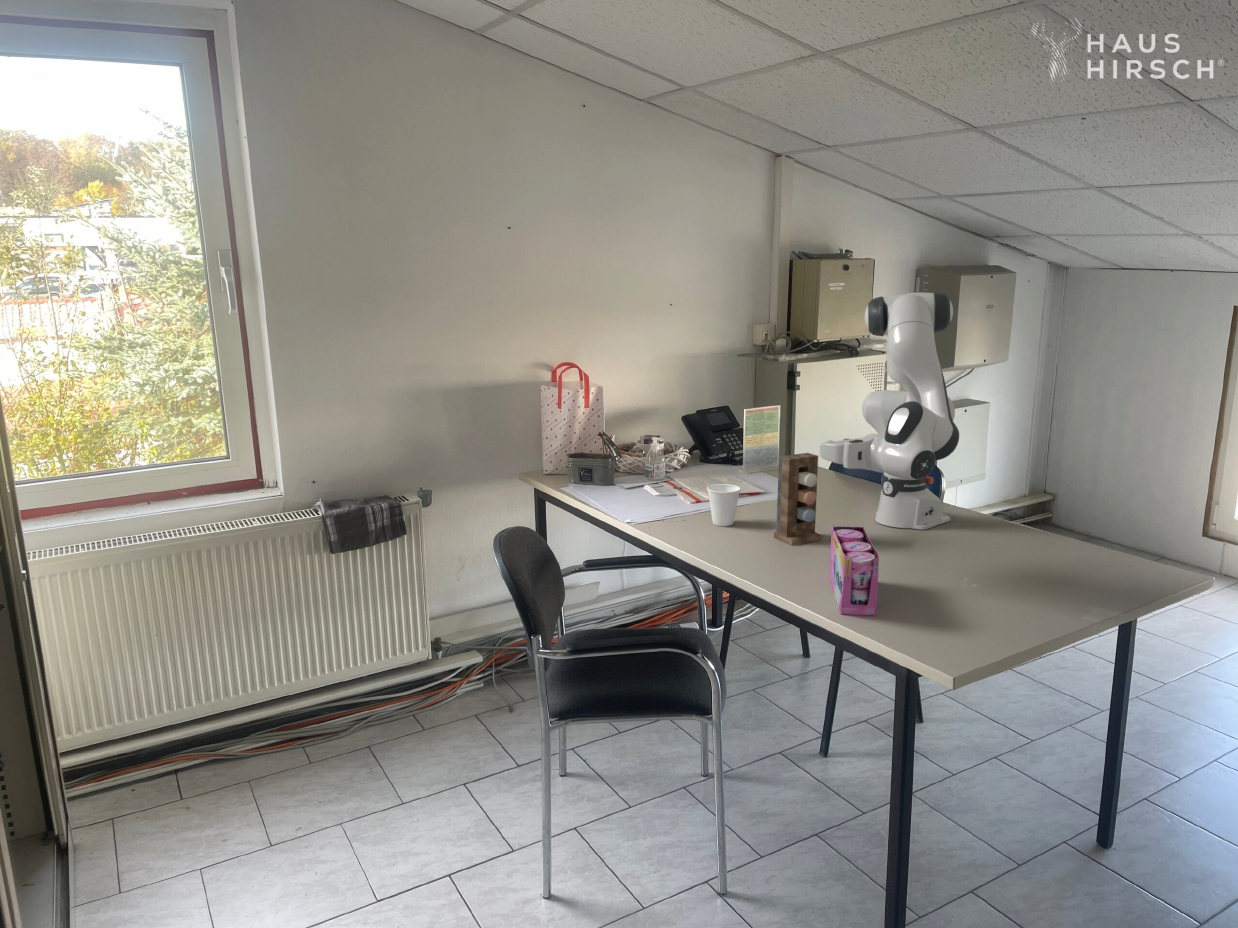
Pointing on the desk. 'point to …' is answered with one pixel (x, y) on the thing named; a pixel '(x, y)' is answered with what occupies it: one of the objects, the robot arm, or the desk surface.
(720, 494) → the cup
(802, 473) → the cream button
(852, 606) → the gum box
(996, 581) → the desk surface
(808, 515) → the slate button
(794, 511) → the wooden dispenser tower
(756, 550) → the desk surface
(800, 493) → the terracotta button
